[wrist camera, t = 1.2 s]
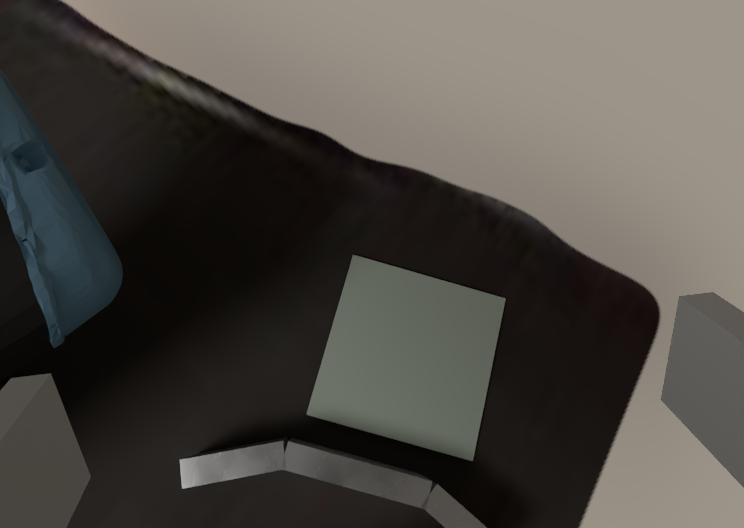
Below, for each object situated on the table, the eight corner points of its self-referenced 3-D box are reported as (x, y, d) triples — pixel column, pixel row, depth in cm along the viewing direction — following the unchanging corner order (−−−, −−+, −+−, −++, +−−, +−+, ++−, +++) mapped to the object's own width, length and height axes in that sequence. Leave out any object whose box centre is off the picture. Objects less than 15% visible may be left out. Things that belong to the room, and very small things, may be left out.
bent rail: (190, 475, 36) (170, 485, 31) (211, 414, 37) (195, 415, 32) (485, 557, 36) (511, 579, 32) (497, 494, 37) (523, 507, 33)
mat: (306, 414, 38) (306, 414, 37) (352, 256, 41) (353, 254, 41) (471, 460, 38) (472, 461, 38) (504, 299, 41) (505, 298, 41)
